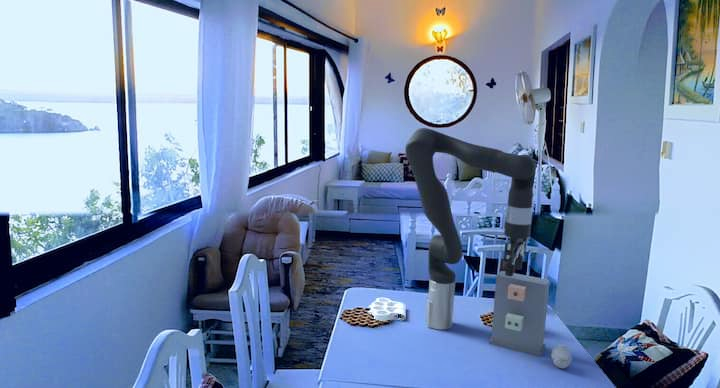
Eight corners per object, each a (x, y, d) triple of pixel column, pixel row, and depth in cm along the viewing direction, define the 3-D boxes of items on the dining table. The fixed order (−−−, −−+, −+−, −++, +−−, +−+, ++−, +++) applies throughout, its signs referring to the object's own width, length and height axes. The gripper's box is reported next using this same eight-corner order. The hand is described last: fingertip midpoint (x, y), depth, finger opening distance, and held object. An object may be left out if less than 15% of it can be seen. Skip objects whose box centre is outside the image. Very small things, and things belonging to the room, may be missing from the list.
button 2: (520, 331, 167) (521, 320, 166) (504, 328, 169) (505, 316, 168) (522, 328, 170) (523, 316, 169) (507, 324, 172) (508, 313, 171)
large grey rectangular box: (540, 356, 170) (547, 286, 166) (488, 343, 178) (494, 275, 174) (545, 347, 177) (551, 279, 173) (495, 335, 185) (500, 269, 181)
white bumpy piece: (405, 325, 191) (365, 322, 193) (405, 307, 209) (369, 304, 210) (405, 316, 191) (365, 314, 192) (405, 299, 209) (369, 296, 210)
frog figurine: (565, 361, 167) (567, 341, 166) (574, 372, 160) (577, 351, 159) (546, 361, 167) (548, 340, 166) (555, 372, 160) (557, 351, 159)
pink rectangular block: (522, 302, 165) (523, 289, 164) (506, 298, 168) (507, 286, 167) (525, 298, 168) (526, 286, 167) (509, 295, 170) (510, 283, 170)
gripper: (523, 226, 151) (518, 280, 153) (537, 219, 162) (532, 269, 165) (498, 222, 155) (493, 275, 157) (513, 215, 166) (508, 264, 169)
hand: (513, 272), depth 161 cm, fingers open, 8 cm apart
